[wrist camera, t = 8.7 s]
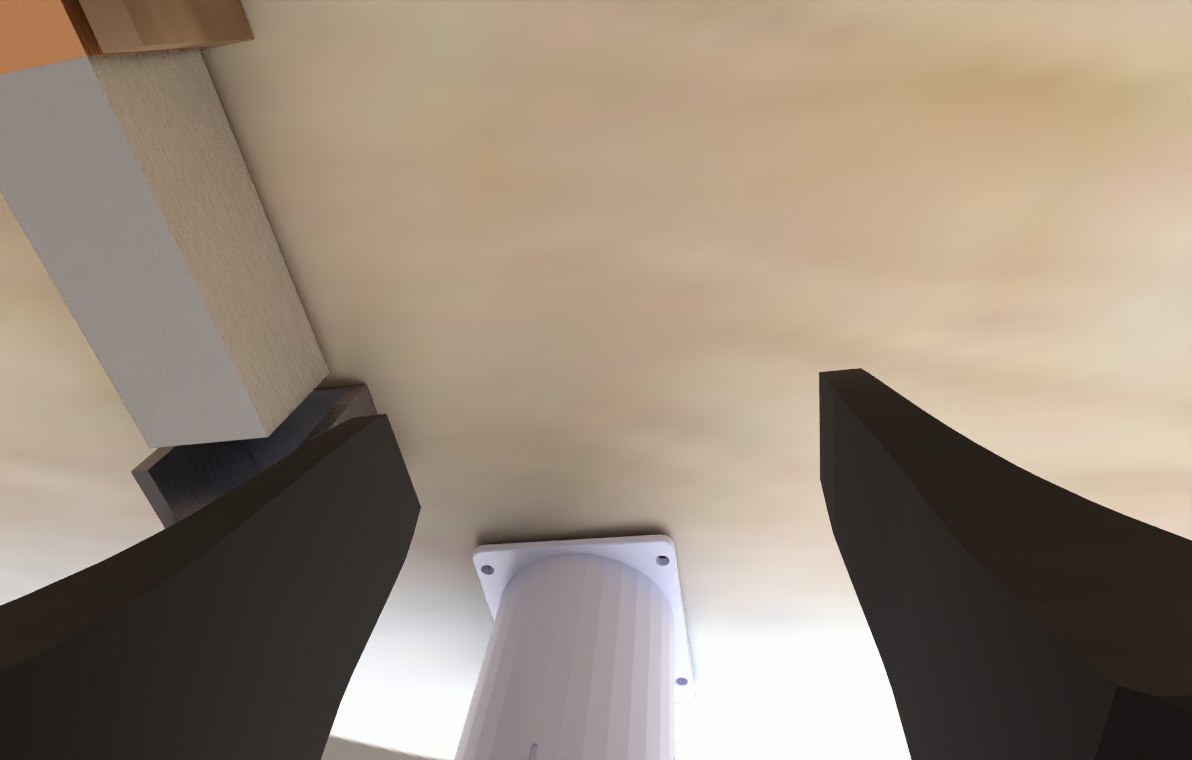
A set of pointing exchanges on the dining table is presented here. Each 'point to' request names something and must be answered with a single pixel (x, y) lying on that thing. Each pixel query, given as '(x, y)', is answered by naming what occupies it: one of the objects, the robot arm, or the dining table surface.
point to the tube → (150, 228)
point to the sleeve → (240, 454)
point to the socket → (165, 24)
